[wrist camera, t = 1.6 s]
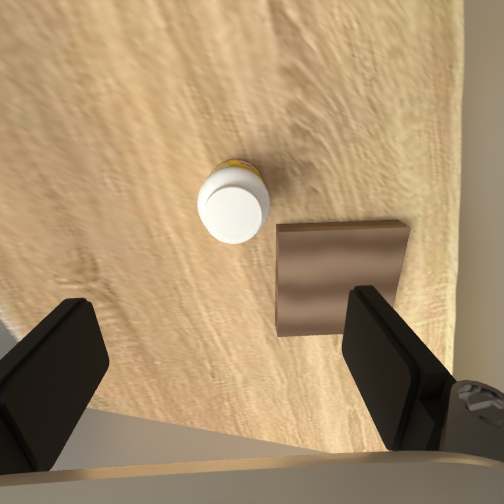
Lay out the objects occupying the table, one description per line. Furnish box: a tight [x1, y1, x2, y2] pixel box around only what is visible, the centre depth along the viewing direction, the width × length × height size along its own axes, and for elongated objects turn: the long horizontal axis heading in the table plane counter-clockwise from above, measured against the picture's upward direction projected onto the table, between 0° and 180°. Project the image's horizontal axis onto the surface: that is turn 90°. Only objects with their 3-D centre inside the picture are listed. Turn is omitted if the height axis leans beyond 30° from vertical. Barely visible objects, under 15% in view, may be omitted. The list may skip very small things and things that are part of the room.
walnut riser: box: [275, 220, 411, 337], centre depth 37 cm, size 16×16×3 cm
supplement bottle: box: [197, 159, 270, 244], centre depth 27 cm, size 7×7×13 cm
